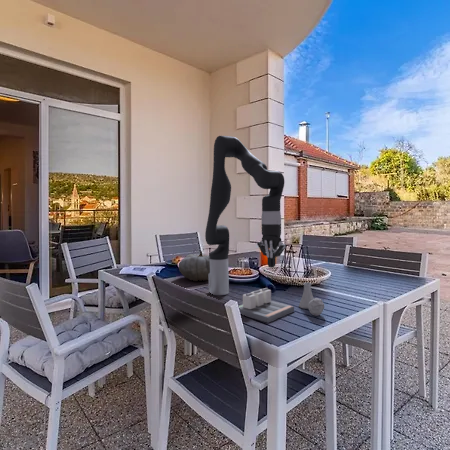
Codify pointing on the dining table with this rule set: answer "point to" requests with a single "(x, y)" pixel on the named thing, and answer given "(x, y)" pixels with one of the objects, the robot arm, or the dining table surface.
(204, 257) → the gourd
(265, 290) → the breaker
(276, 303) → the square grey tray
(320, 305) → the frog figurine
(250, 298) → the breaker
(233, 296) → the dining table surface
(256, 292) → the tripped breaker
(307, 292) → the flask
